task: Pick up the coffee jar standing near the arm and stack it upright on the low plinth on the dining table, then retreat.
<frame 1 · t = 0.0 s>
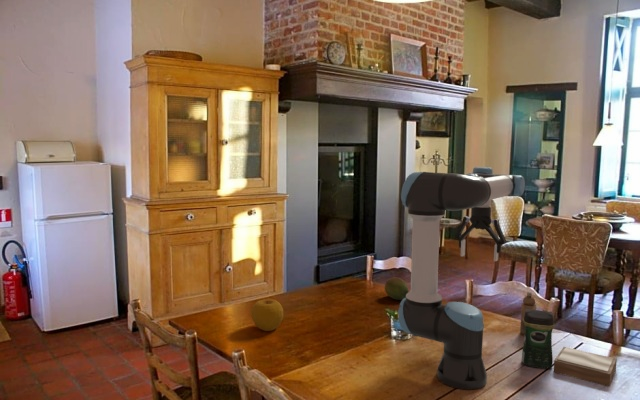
hand: (479, 258, 204), 28 cm above the table, fingers open, 13 cm apart
plinth: (584, 371, 166), on the table
coffee jar: (536, 364, 171), on the table
apple: (267, 328, 202), on the table
fruit: (397, 299, 242), on the table
pepper mill: (527, 334, 198), on the table
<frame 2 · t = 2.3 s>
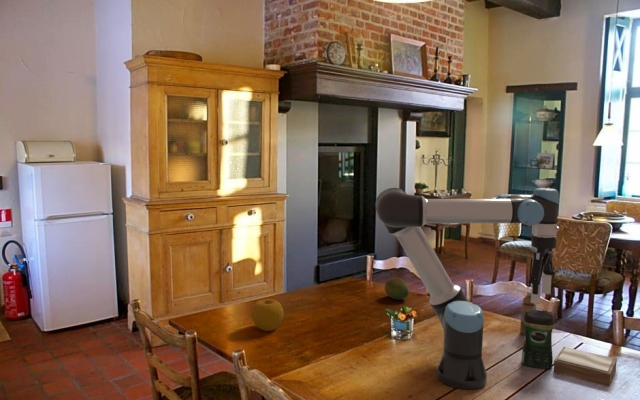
hand: (540, 298, 168), 23 cm above the table, fingers open, 13 cm apart
nothing on the table moved.
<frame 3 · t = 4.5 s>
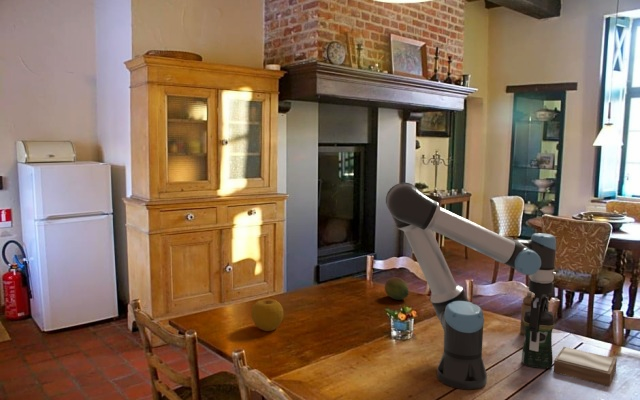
hand: (537, 345, 170), 6 cm above the table, fingers closed on coffee jar, 8 cm apart
coffee jar: (536, 364, 171), on the table, touching gripper
everything else where it was.
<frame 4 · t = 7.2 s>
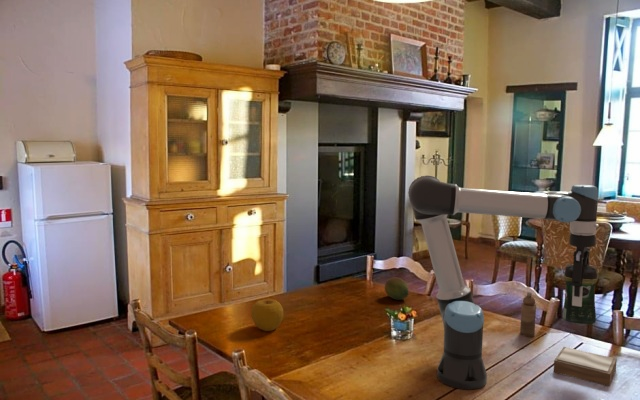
hand: (579, 302, 164), 23 cm above the table, fingers closed on coffee jar, 8 cm apart
coffee jar: (578, 321, 165), point 16 cm above the table, touching gripper
everything else where it was.
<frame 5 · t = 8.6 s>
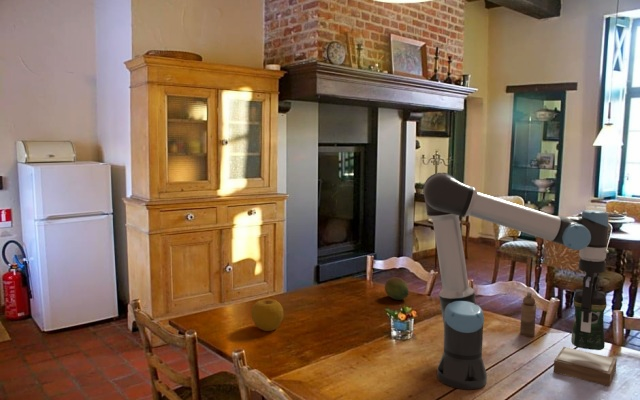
hand: (588, 327, 164), 15 cm above the table, fingers closed on coffee jar, 8 cm apart
coffee jar: (587, 346, 165), point 8 cm above the table, touching gripper
everything else where it was.
when the fingers open (11 cm above the table, at t = 9.9 s): coffee jar stays where it is, resting on plinth.
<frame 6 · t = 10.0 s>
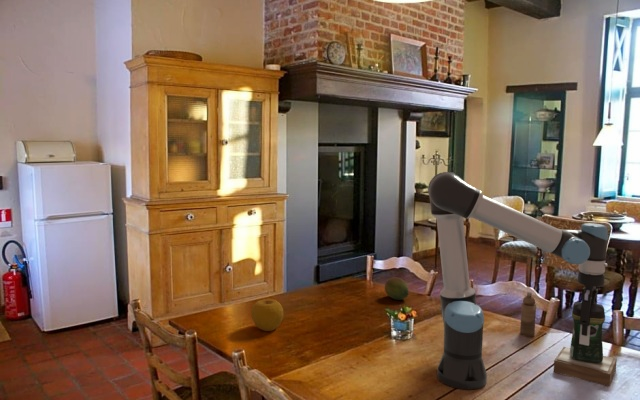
hand: (586, 340, 165), 11 cm above the table, fingers open, 8 cm apart
coffee jar: (585, 359, 165), point 4 cm above the table, touching plinth
everything else where it was.
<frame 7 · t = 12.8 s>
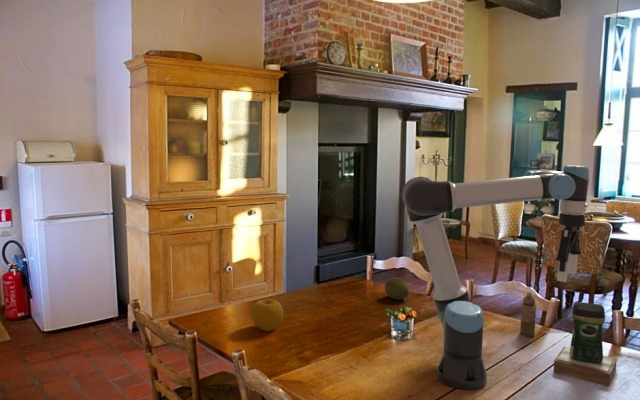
hand: (566, 277, 166), 30 cm above the table, fingers open, 13 cm apart
nothing on the table moved.
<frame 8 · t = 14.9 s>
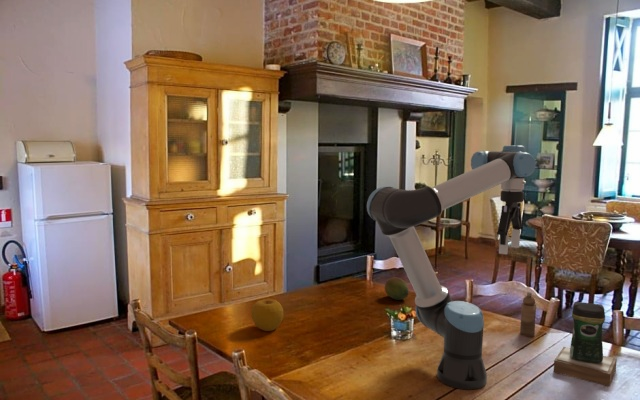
hand: (509, 250, 177), 37 cm above the table, fingers open, 13 cm apart
nothing on the table moved.
at the end: coffee jar inside the target area on the plinth (0.0 cm from its centre), point 4.1 cm above the plinth's base; coffee jar tilted 0°; coffee jar touching plinth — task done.
